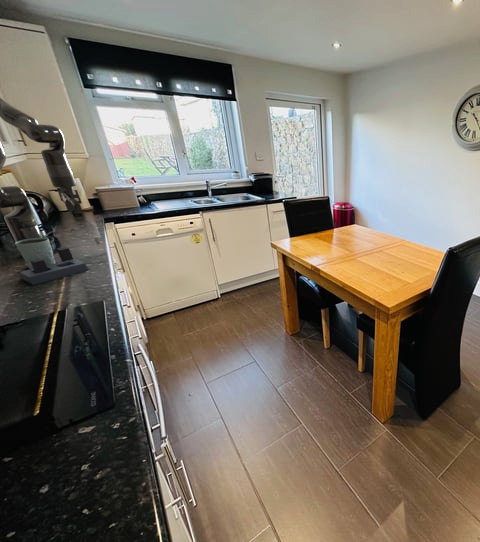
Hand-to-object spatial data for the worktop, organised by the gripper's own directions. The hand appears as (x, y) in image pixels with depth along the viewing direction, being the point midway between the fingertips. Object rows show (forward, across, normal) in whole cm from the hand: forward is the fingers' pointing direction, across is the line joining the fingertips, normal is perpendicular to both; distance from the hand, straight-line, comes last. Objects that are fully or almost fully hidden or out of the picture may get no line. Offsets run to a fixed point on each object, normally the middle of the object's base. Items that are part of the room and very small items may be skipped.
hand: (75, 211), depth 130 cm
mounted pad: (+23, -10, +20) cm, 33 cm away
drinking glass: (+23, +8, +16) cm, 29 cm away
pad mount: (+23, -10, +16) cm, 30 cm away
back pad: (+23, 0, +9) cm, 25 cm away
